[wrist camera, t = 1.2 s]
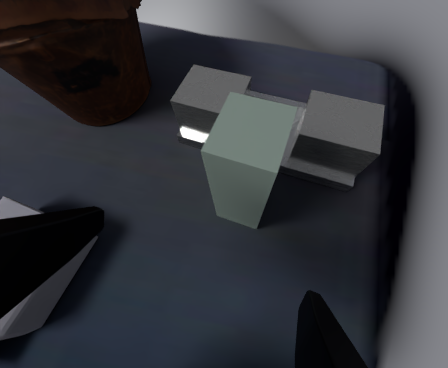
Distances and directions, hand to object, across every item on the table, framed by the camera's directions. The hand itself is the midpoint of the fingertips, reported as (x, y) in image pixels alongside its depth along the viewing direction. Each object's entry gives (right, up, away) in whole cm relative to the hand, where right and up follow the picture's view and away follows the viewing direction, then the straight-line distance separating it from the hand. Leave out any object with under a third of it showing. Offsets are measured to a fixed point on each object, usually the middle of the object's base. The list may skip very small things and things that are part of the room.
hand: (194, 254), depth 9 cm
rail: (+7, +8, +19) cm, 22 cm away
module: (+3, +1, +15) cm, 16 cm away
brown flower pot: (-16, +17, +24) cm, 34 cm away
